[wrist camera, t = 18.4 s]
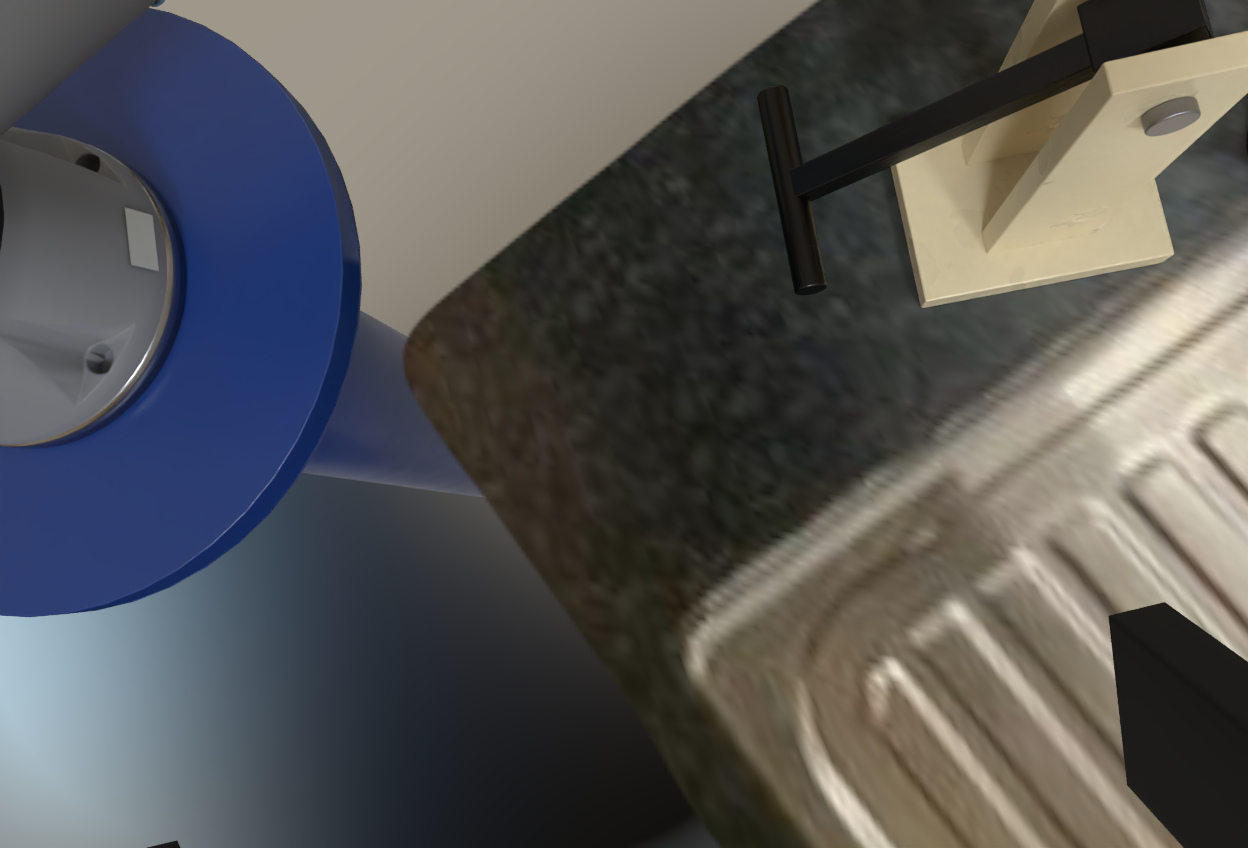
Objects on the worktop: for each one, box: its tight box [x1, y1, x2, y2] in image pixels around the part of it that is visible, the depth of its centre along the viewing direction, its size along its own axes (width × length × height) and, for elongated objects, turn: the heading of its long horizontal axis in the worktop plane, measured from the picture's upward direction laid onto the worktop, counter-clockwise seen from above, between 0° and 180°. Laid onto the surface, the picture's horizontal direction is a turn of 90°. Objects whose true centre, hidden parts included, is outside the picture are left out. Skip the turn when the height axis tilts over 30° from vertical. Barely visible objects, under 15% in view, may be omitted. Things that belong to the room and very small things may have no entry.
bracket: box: [891, 0, 1248, 308], centre depth 31 cm, size 10×8×15 cm
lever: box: [757, 0, 1214, 295], centre depth 29 cm, size 14×8×2 cm, turn 97°
